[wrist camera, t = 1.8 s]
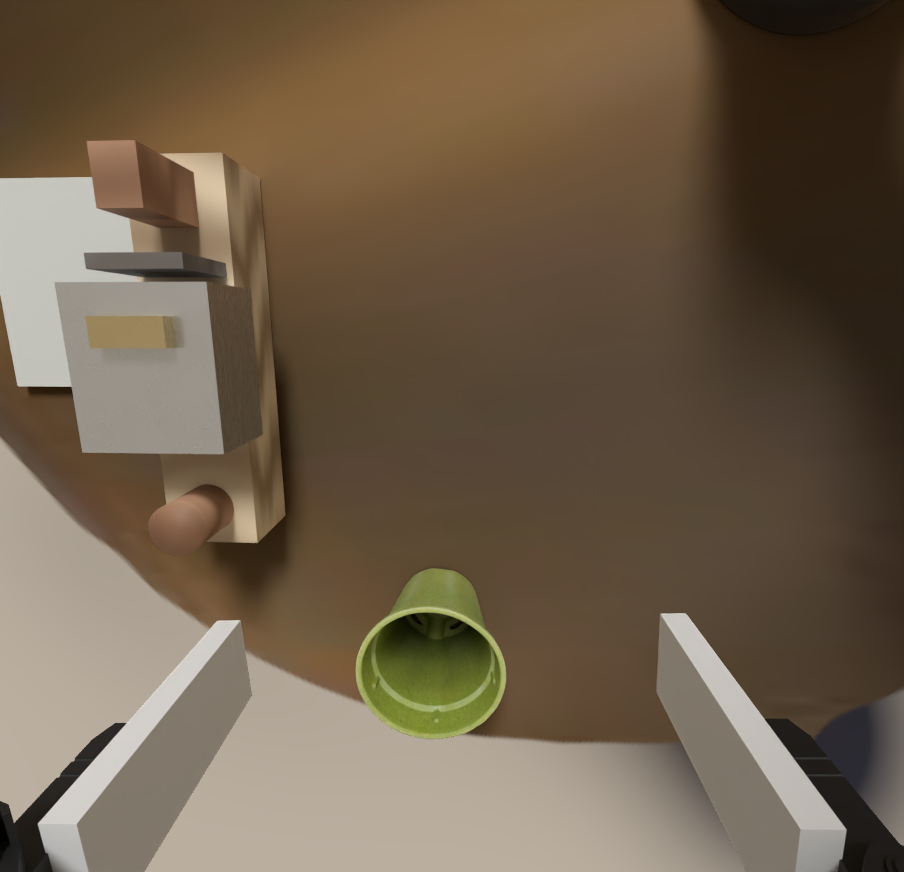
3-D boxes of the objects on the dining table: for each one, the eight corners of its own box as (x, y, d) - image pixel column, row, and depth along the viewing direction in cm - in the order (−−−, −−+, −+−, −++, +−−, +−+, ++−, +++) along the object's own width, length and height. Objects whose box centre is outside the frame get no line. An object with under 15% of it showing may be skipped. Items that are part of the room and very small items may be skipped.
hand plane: (173, 179, 33) (47, 118, 24) (259, 178, 33) (168, 116, 23) (210, 513, 39) (119, 577, 29) (285, 515, 38) (219, 579, 28)
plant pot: (445, 522, 38) (437, 579, 29) (523, 609, 39) (536, 687, 31) (357, 593, 39) (324, 665, 31) (434, 673, 41) (423, 764, 32)
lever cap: (122, 289, 30) (40, 280, 24) (250, 289, 30) (197, 280, 24) (142, 433, 32) (70, 456, 26) (262, 434, 32) (216, 458, 26)
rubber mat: (-10, 182, 34) (-22, 179, 33) (144, 180, 33) (136, 176, 33) (27, 385, 37) (17, 386, 36) (169, 386, 36) (162, 387, 36)
